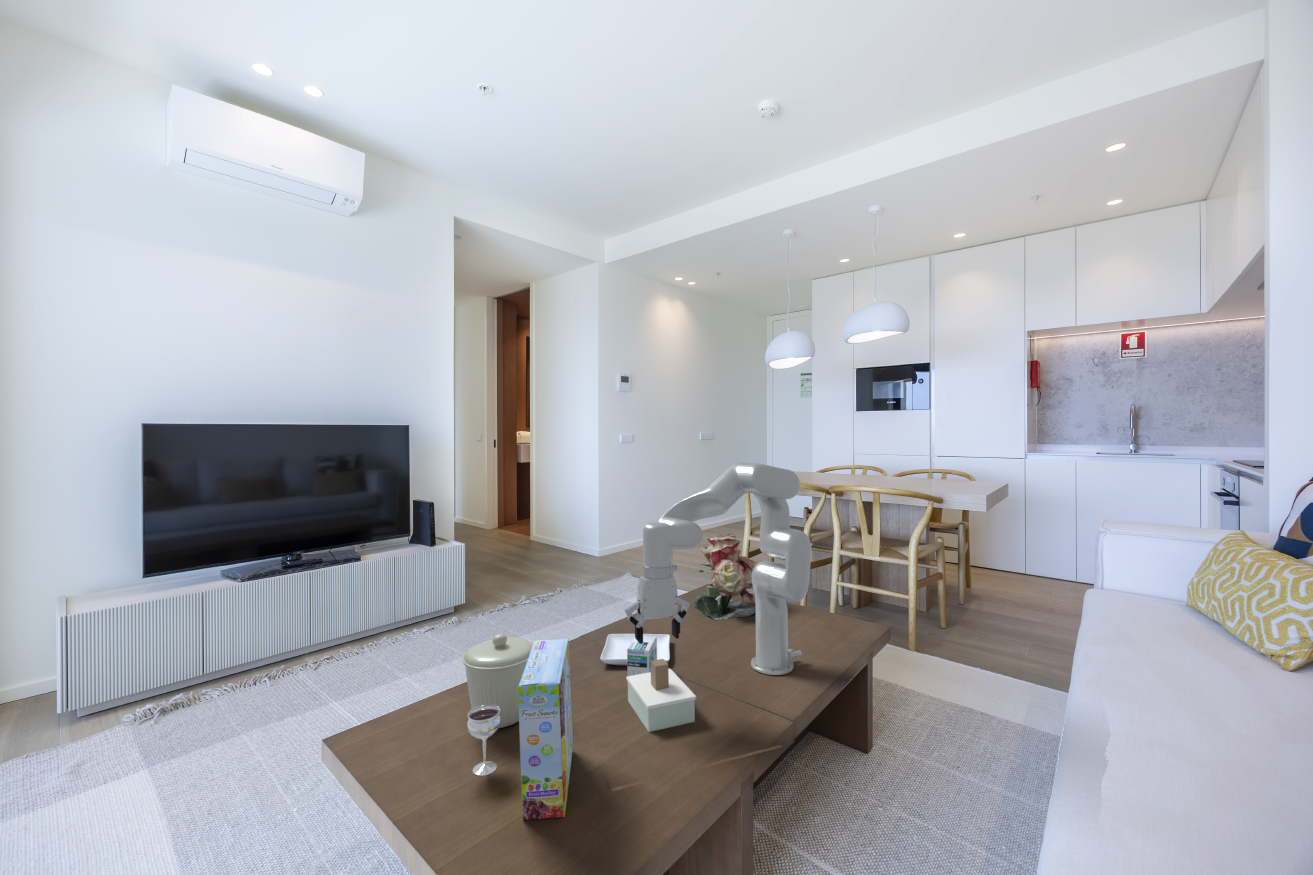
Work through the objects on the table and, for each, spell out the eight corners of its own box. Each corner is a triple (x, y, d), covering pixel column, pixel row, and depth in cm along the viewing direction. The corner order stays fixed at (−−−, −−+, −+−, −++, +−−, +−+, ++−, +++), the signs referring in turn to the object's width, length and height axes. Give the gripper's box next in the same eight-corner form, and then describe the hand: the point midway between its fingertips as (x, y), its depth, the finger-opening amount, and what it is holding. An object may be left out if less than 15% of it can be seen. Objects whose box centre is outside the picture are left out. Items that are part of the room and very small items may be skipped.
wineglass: (462, 777, 112) (461, 720, 112) (475, 758, 119) (474, 704, 119) (494, 778, 112) (493, 721, 112) (505, 758, 119) (504, 704, 118)
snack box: (534, 752, 121) (533, 638, 120) (574, 750, 121) (572, 636, 121) (518, 822, 99) (515, 683, 99) (566, 819, 100) (563, 681, 100)
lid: (626, 679, 143) (625, 653, 143) (670, 671, 147) (669, 646, 147) (647, 709, 127) (647, 680, 127) (696, 699, 132) (695, 671, 132)
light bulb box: (650, 689, 150) (649, 650, 150) (626, 687, 151) (626, 649, 151) (657, 672, 160) (657, 636, 160) (635, 670, 162) (635, 634, 161)
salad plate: (670, 642, 183) (670, 632, 183) (669, 670, 162) (669, 659, 162) (608, 642, 184) (607, 632, 184) (599, 670, 163) (599, 659, 163)
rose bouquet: (718, 625, 198) (717, 543, 198) (685, 601, 226) (684, 530, 225) (777, 615, 208) (776, 537, 207) (739, 594, 235) (738, 525, 235)
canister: (551, 705, 141) (549, 625, 141) (510, 743, 124) (509, 652, 124) (492, 695, 147) (491, 618, 147) (446, 730, 130) (445, 643, 130)
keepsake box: (628, 702, 143) (627, 679, 142) (670, 693, 147) (669, 671, 147) (648, 733, 128) (648, 708, 128) (694, 723, 132) (694, 698, 132)
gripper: (683, 565, 143) (683, 629, 143) (620, 571, 137) (620, 638, 137) (694, 572, 136) (694, 639, 136) (629, 578, 130) (629, 649, 130)
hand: (657, 639), depth 137 cm, fingers open, 9 cm apart
